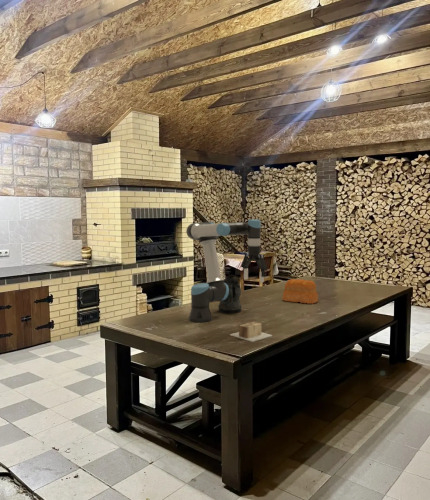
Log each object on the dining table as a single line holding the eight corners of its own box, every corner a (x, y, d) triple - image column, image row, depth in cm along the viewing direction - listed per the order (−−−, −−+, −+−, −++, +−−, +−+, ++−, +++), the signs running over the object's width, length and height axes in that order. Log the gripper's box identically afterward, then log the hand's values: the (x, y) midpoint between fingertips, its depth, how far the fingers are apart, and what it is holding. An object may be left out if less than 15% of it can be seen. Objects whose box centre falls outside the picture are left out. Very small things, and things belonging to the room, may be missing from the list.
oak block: (253, 332, 255) (239, 336, 247) (253, 321, 255) (238, 325, 246) (261, 334, 251) (246, 338, 243) (261, 323, 250) (246, 327, 242)
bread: (312, 305, 330) (312, 282, 329) (280, 301, 345) (280, 279, 343) (320, 301, 343) (320, 279, 342) (289, 298, 358) (289, 277, 356)
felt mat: (229, 335, 251) (229, 334, 251) (249, 330, 262) (249, 329, 261) (252, 342, 238) (252, 340, 237) (272, 336, 248) (272, 335, 248)
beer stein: (225, 307, 324) (225, 273, 322) (249, 310, 314) (249, 275, 312) (214, 312, 310) (213, 276, 308) (238, 315, 300) (238, 278, 298)
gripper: (273, 246, 255) (273, 282, 257) (244, 243, 274) (244, 277, 276) (264, 247, 250) (264, 284, 252) (235, 244, 269) (235, 278, 271)
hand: (253, 280), depth 264 cm, fingers open, 13 cm apart
